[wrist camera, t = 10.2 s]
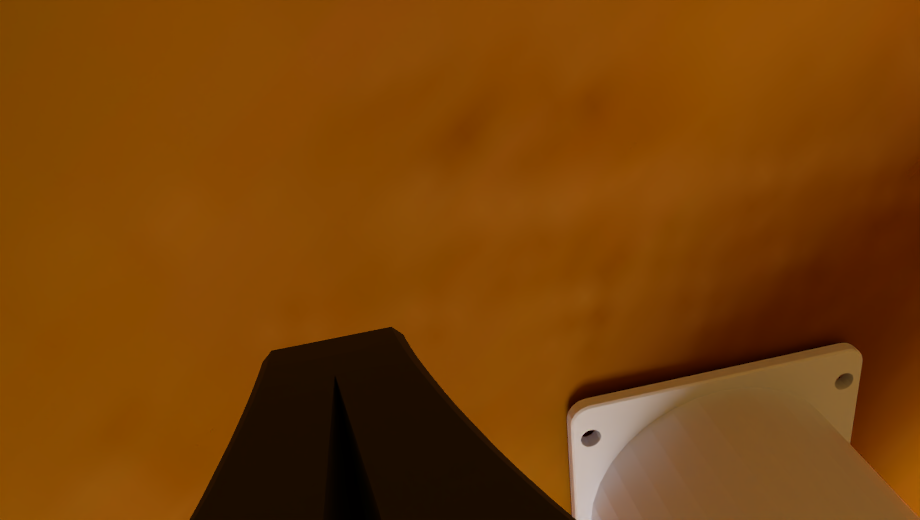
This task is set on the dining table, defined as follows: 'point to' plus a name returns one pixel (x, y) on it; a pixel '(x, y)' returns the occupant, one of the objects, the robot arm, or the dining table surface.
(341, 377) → the robot arm
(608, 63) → the dining table surface
